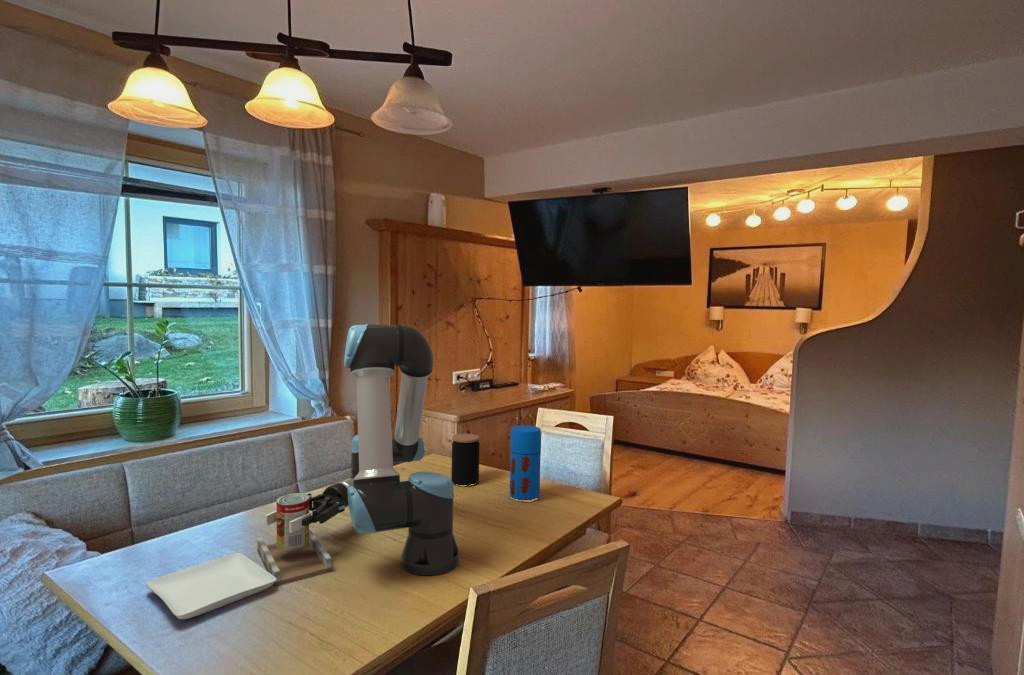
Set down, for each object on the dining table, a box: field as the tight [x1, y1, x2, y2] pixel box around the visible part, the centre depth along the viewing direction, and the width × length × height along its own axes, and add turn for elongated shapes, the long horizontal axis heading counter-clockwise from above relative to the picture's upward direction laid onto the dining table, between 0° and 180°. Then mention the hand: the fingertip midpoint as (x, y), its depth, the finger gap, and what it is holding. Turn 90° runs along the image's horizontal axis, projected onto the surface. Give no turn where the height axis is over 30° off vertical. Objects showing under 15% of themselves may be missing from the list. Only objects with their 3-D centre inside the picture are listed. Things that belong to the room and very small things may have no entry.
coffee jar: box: [450, 433, 481, 485], centre depth 203 cm, size 11×11×18 cm
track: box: [256, 528, 332, 587], centre depth 138 cm, size 22×13×4 cm, turn 35°
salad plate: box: [145, 552, 277, 620], centre depth 122 cm, size 21×21×3 cm
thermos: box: [509, 425, 542, 500], centre depth 188 cm, size 11×11×25 cm
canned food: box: [276, 492, 310, 550], centre depth 138 cm, size 8×8×12 cm
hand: (278, 523), depth 134 cm, fingers closed on canned food, 8 cm apart
